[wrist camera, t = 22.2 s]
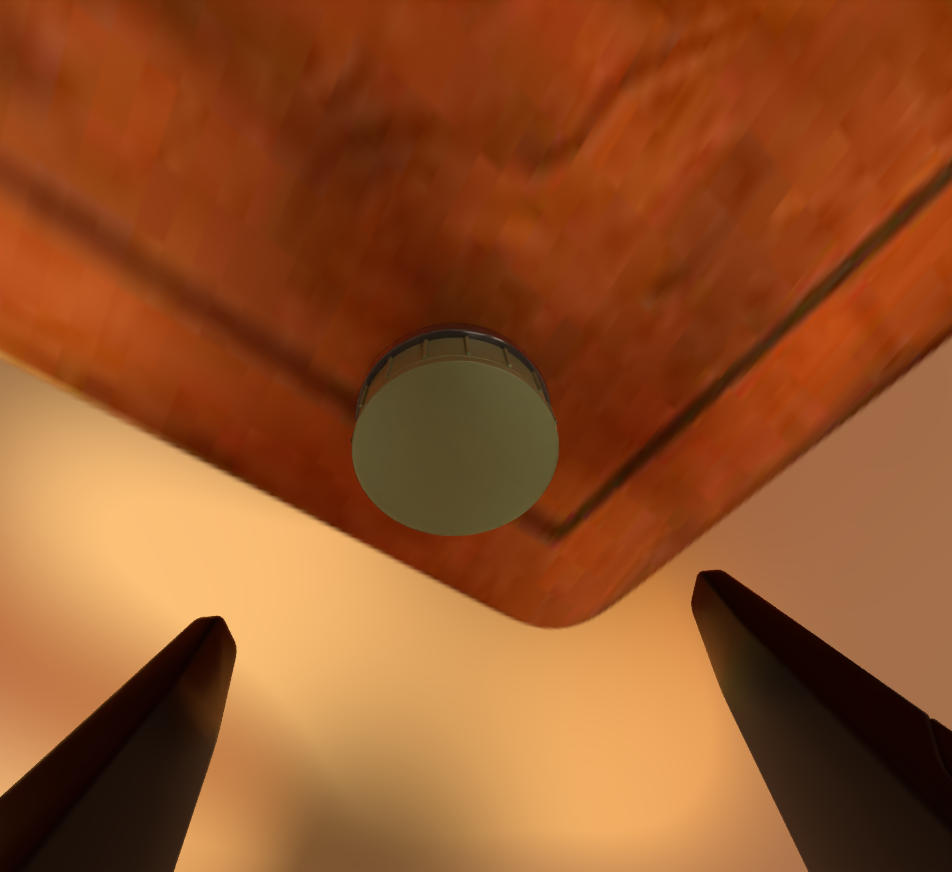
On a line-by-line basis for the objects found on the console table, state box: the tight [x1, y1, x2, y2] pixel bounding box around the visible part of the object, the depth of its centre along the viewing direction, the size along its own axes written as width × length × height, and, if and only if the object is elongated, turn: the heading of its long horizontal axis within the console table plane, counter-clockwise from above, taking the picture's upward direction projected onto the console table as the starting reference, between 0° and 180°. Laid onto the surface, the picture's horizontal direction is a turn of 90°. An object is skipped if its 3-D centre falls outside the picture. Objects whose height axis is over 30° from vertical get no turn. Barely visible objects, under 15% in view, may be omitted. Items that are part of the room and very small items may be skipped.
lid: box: [351, 336, 559, 536], centre depth 15 cm, size 6×6×2 cm
